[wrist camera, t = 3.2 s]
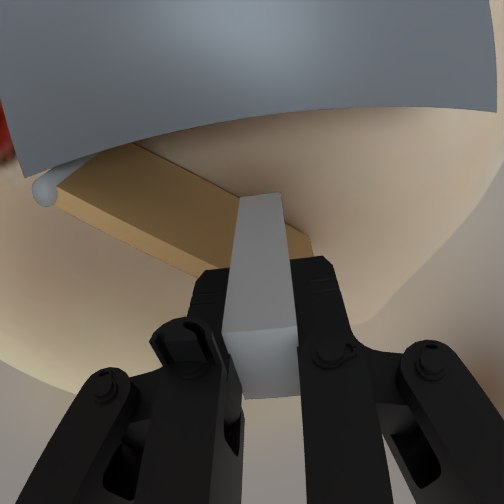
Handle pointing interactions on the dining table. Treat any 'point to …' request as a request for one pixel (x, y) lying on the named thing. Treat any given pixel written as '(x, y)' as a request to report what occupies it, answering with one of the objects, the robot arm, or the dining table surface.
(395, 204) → the dining table surface
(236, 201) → the side door
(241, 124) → the dining table surface
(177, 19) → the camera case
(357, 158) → the dining table surface
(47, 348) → the dining table surface
